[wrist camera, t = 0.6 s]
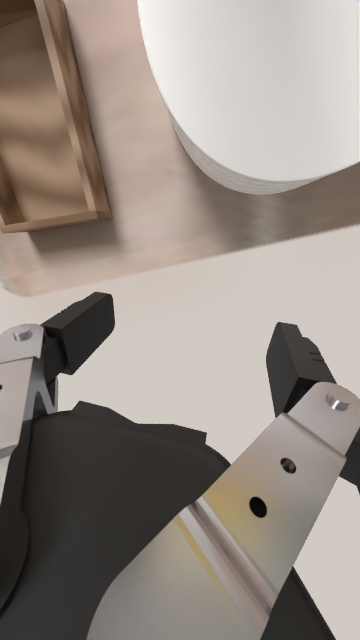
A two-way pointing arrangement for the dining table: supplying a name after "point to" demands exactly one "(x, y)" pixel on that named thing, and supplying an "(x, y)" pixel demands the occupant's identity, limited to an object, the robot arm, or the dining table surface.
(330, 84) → the plate stack
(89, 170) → the tray
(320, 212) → the dining table surface
